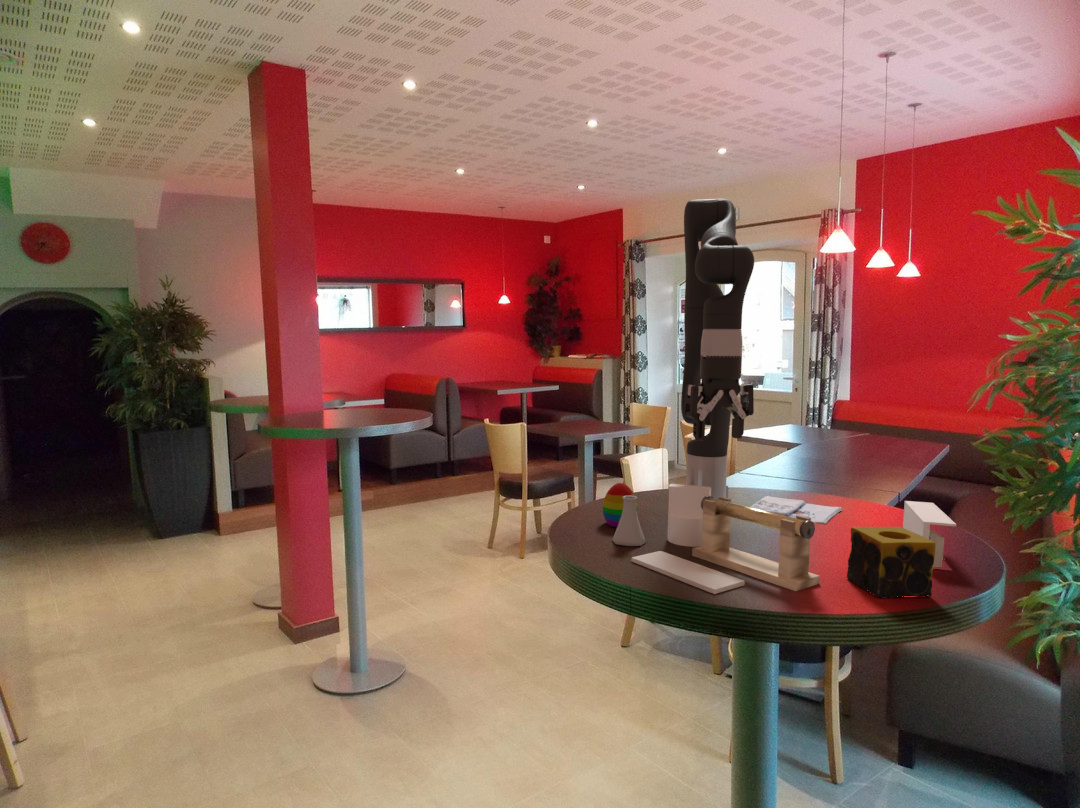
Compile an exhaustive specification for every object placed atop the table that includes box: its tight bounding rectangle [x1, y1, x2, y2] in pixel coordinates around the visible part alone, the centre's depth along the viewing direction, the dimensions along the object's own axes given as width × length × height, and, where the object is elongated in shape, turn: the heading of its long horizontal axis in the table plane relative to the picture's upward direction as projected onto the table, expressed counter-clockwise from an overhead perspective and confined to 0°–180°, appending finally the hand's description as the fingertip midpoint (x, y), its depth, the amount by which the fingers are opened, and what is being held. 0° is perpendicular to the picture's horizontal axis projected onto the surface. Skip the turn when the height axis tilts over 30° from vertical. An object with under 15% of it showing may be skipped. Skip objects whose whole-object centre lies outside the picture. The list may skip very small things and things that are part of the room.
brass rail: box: [701, 496, 816, 540], centre depth 130 cm, size 24×3×3 cm, turn 35°
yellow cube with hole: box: [846, 526, 935, 598], centre depth 121 cm, size 10×10×10 cm
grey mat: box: [630, 550, 746, 595], centre depth 128 cm, size 8×21×1 cm, turn 35°
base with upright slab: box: [667, 483, 711, 548], centre depth 149 cm, size 9×9×12 cm
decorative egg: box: [602, 482, 638, 528], centre depth 162 cm, size 8×8×10 cm
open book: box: [750, 495, 843, 525], centre depth 177 cm, size 19×20×2 cm
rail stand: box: [691, 497, 821, 592], centre depth 131 cm, size 7×24×12 cm, turn 35°
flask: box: [611, 495, 647, 547], centre depth 147 cm, size 7×7×10 cm
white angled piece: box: [902, 500, 957, 567], centre depth 141 cm, size 20×6×9 cm, turn 162°
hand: (718, 439), depth 130 cm, fingers open, 8 cm apart
